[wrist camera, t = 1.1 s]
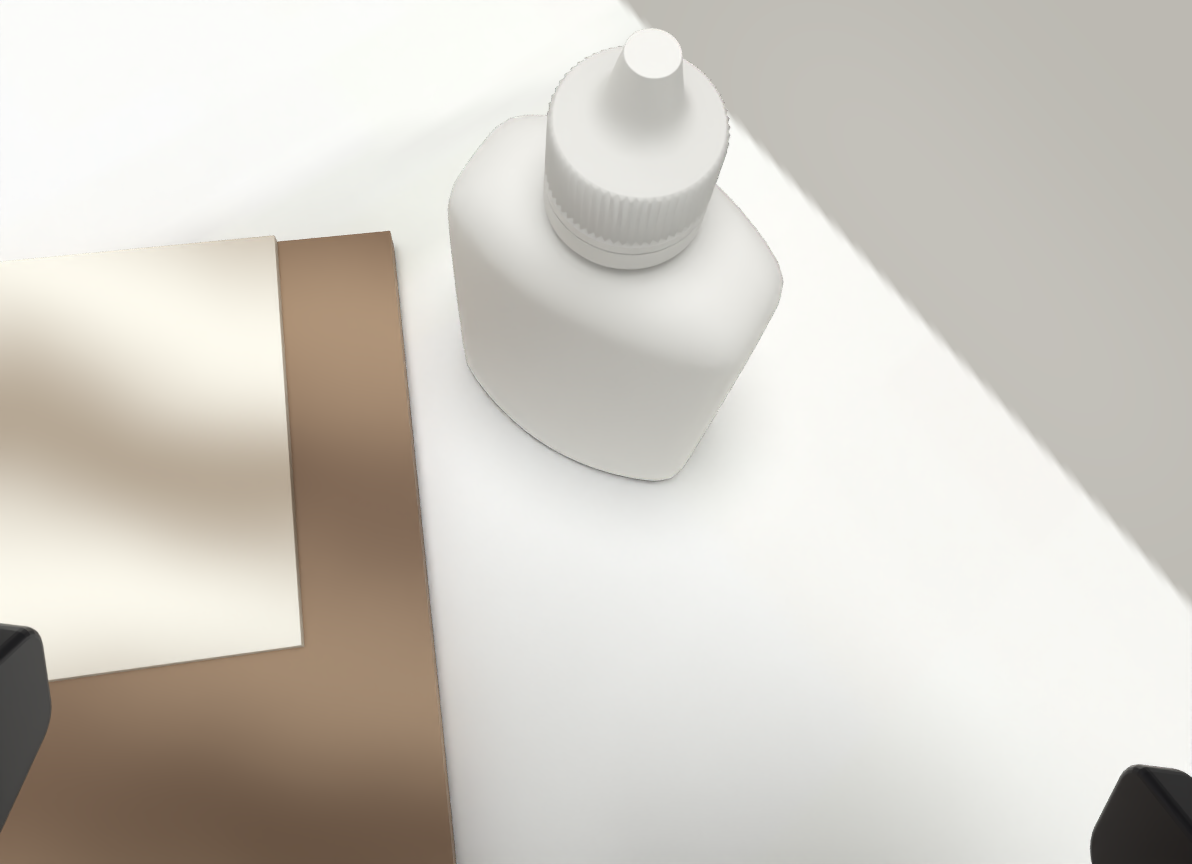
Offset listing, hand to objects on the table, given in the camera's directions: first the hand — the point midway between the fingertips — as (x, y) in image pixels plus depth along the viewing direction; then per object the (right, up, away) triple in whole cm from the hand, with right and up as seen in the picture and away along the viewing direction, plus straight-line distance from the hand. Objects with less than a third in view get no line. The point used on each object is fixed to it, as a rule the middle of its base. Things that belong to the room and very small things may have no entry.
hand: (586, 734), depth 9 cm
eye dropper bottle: (0, +3, +15) cm, 16 cm away
